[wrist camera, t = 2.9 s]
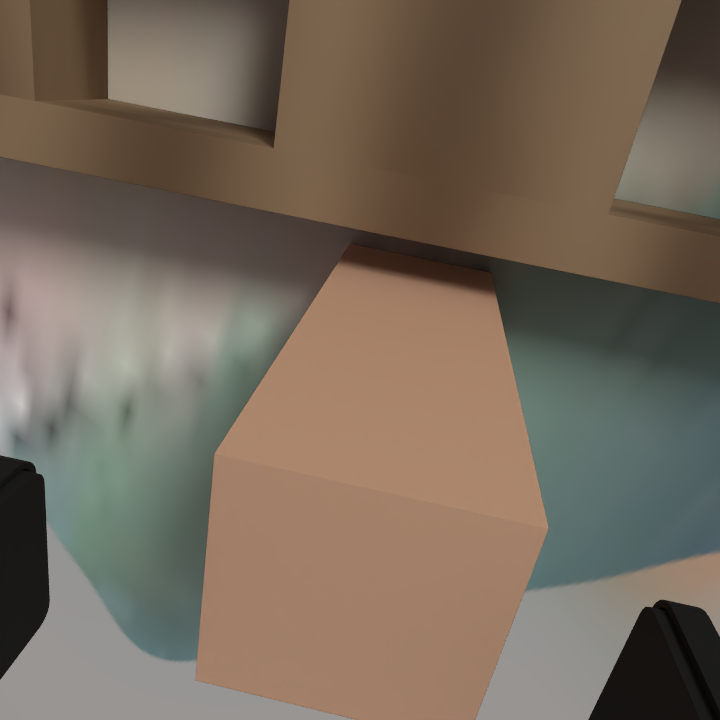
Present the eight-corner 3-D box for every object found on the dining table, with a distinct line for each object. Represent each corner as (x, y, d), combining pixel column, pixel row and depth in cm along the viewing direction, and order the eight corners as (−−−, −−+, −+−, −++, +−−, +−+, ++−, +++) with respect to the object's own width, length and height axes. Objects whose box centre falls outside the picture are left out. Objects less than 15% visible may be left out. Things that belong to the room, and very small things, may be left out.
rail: (1177, -51, 14) (1397, -93, 10) (946, 320, 17) (1057, 372, 14) (-87, -263, 15) (-228, -356, 12) (-47, 120, 19) (-147, 126, 16)
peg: (491, 272, 19) (549, 529, 8) (456, 397, 20) (465, 746, 10) (349, 243, 19) (213, 453, 8) (328, 370, 21) (195, 680, 10)
